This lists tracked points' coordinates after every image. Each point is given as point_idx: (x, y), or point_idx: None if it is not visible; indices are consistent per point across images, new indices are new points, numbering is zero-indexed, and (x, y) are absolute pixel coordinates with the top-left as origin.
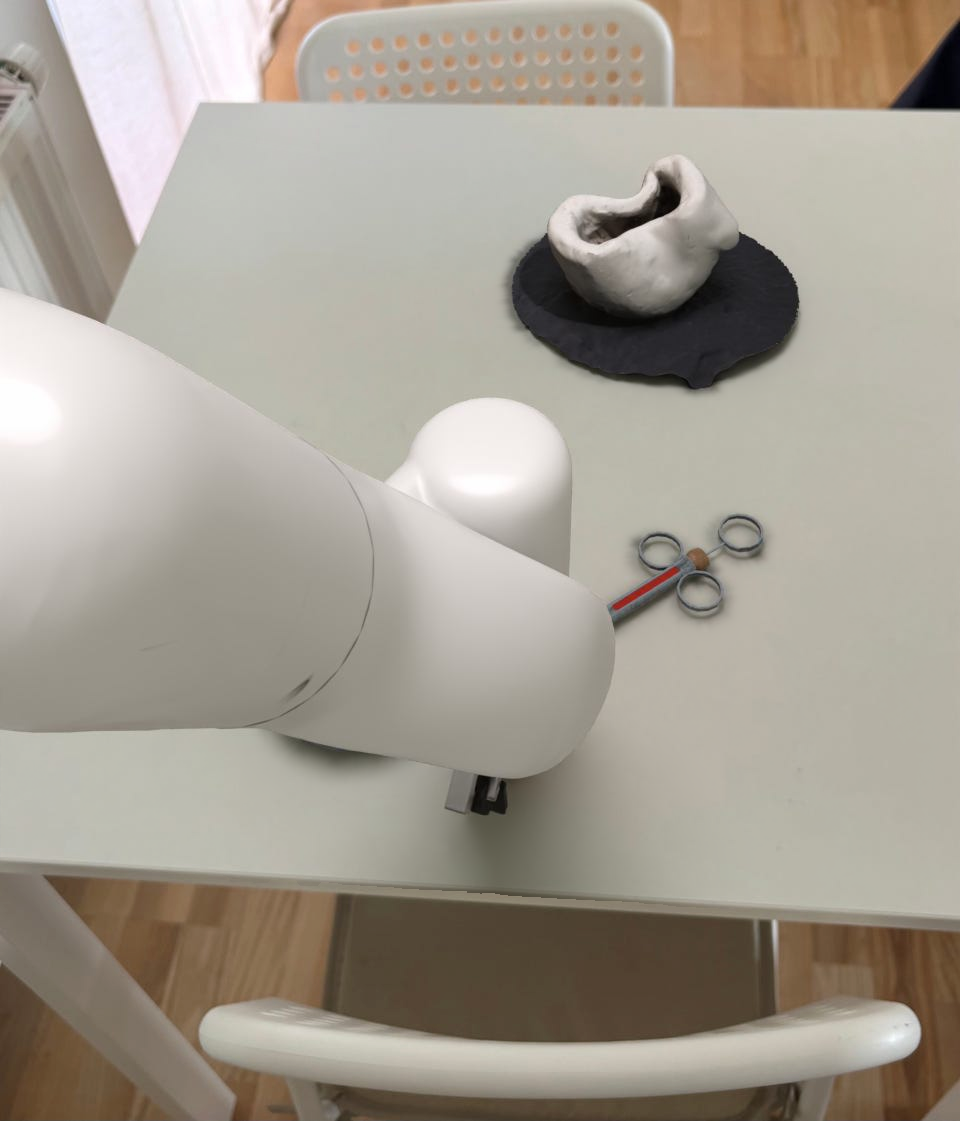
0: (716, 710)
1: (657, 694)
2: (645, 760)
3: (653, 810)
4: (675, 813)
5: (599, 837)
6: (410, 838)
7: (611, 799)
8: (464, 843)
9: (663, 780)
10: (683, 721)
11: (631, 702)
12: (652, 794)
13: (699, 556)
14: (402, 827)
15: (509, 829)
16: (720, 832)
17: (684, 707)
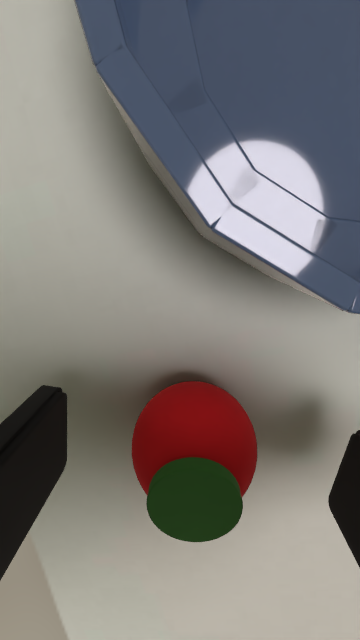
0: (296, 629)
1: (317, 577)
2: (214, 569)
3: (147, 578)
4: (149, 596)
5: (95, 530)
6: (3, 284)
7: (150, 539)
8: (27, 371)
9: (189, 585)
10: (277, 602)
11: (302, 552)
12: (168, 576)
13: None
14: (16, 265)
15: (70, 429)
16: (137, 630)
17: (298, 602)
